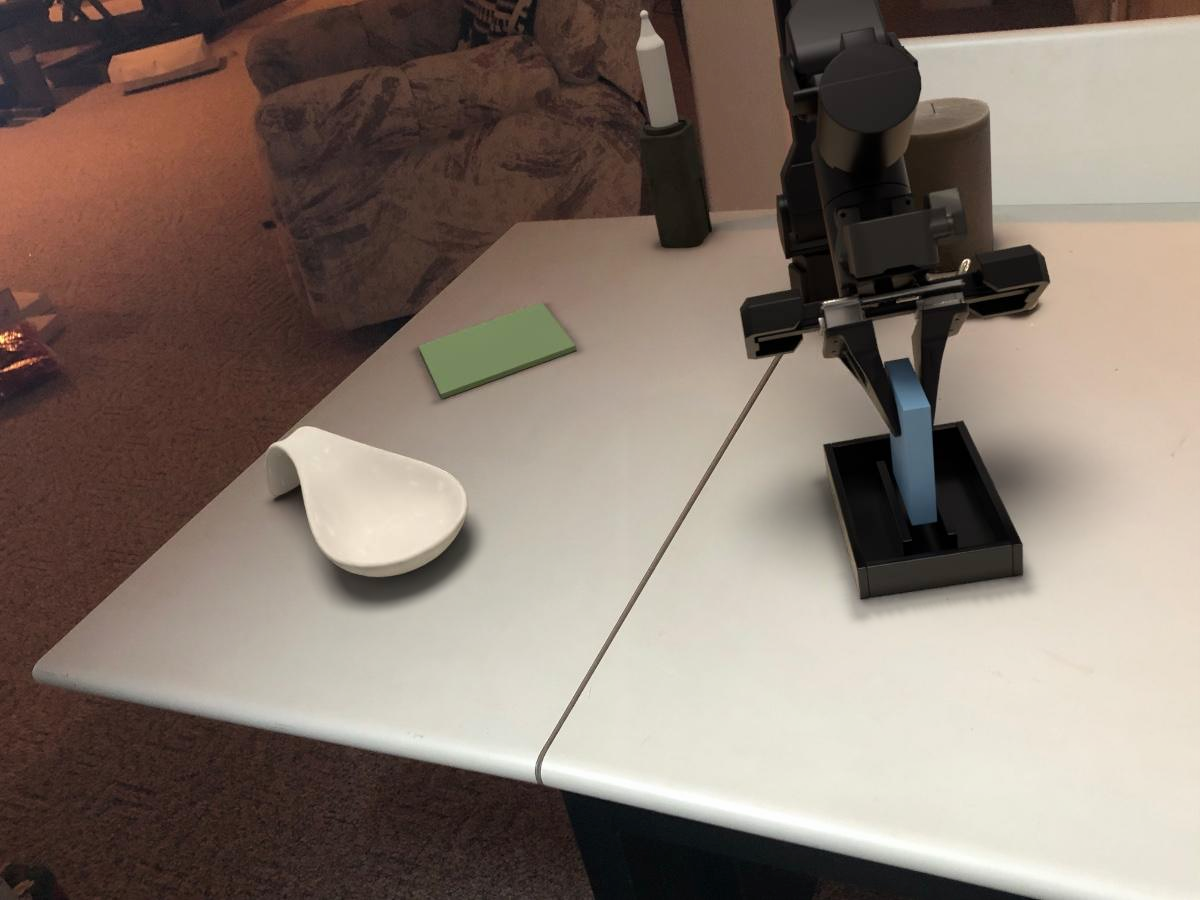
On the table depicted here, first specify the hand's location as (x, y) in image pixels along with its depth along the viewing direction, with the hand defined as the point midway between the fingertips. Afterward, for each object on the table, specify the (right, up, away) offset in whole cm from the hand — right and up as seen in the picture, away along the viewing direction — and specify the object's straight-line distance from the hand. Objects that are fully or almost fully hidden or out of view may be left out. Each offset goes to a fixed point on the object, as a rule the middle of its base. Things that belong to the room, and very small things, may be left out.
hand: (913, 433), depth 68 cm
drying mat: (-30, +9, +42) cm, 53 cm away
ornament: (+15, +12, +29) cm, 34 cm away
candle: (-10, +23, +55) cm, 60 cm away
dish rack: (+2, -7, +6) cm, 9 cm away
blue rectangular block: (+1, -4, +4) cm, 6 cm away
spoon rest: (-39, -8, +21) cm, 45 cm away
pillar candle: (+14, +19, +39) cm, 45 cm away
